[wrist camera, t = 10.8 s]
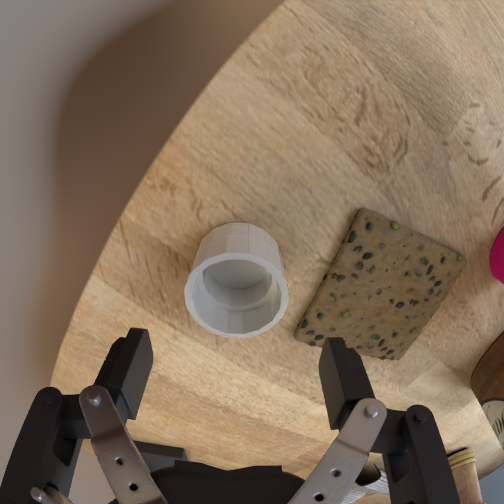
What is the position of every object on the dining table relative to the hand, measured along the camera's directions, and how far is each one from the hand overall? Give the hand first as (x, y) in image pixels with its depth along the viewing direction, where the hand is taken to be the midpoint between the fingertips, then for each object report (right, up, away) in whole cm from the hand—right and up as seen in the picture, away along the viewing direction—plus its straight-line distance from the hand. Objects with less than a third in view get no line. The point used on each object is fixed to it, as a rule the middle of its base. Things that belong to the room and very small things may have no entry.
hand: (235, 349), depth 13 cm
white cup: (0, +4, +8) cm, 9 cm away
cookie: (+12, +1, +10) cm, 15 cm away
